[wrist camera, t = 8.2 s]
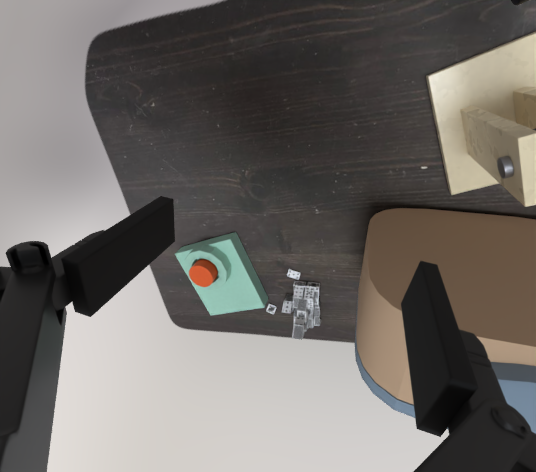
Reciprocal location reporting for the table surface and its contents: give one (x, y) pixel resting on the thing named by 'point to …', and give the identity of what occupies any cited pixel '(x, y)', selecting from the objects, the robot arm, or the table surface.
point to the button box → (225, 275)
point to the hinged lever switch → (489, 119)
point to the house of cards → (301, 305)
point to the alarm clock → (450, 296)
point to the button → (203, 273)
